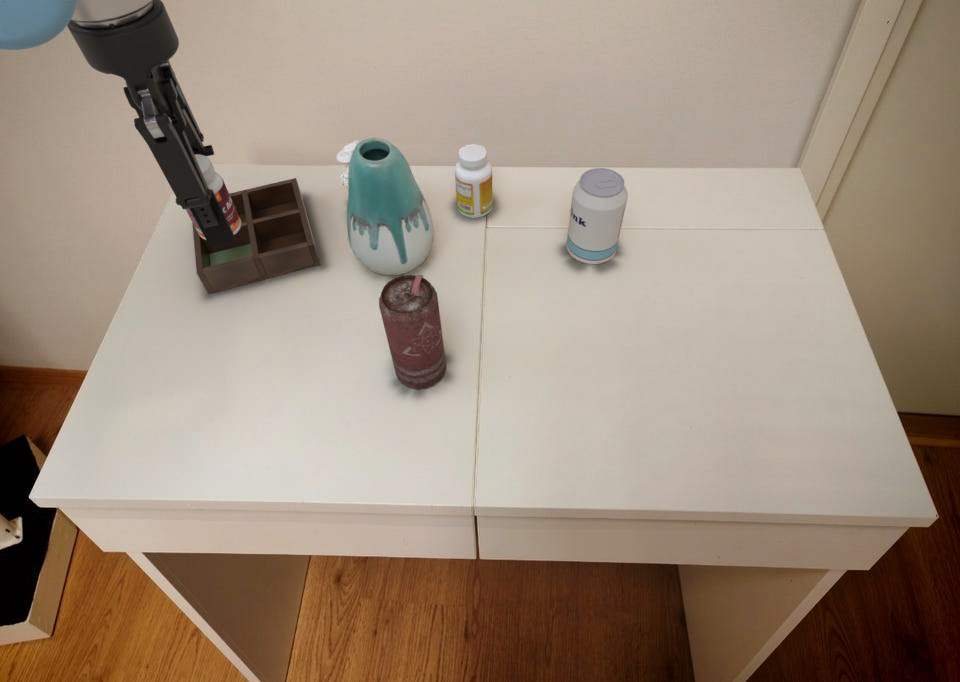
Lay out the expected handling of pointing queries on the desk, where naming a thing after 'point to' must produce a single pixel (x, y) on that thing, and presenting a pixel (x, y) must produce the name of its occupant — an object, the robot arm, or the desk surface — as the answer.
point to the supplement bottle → (473, 181)
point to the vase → (386, 210)
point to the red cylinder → (413, 330)
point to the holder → (260, 239)
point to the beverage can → (596, 215)
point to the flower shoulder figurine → (346, 159)
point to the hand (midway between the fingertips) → (220, 225)
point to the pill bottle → (217, 195)
